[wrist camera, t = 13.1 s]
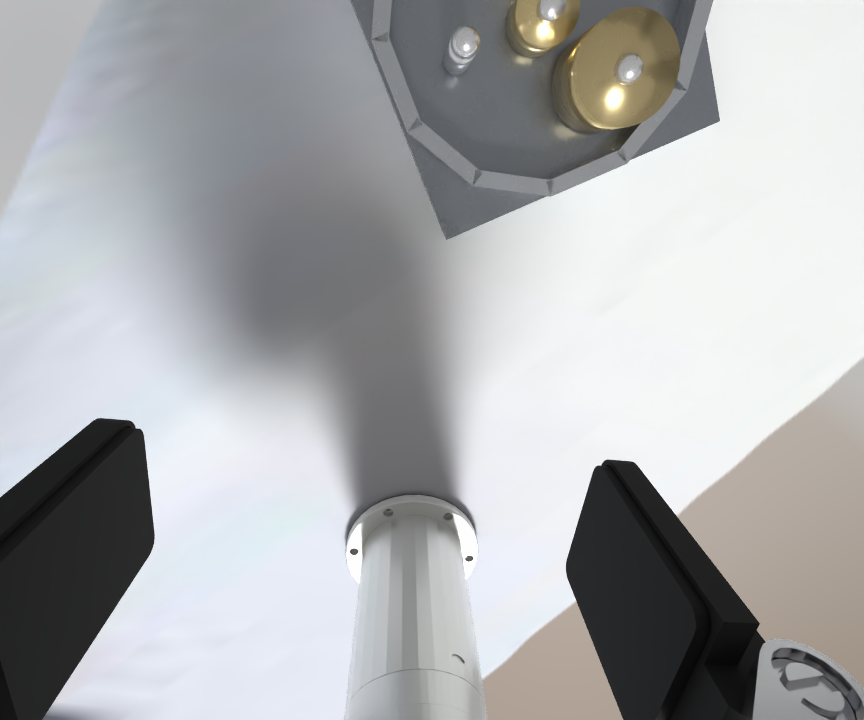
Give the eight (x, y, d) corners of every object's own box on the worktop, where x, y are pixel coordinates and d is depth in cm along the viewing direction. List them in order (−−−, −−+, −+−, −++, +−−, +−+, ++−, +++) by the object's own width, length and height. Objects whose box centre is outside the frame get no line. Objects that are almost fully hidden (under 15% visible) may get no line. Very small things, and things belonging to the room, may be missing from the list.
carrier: (707, 122, 34) (782, 112, 27) (444, 236, 36) (454, 253, 29) (643, -250, 27) (724, -390, 20) (318, -80, 29) (291, -156, 22)
